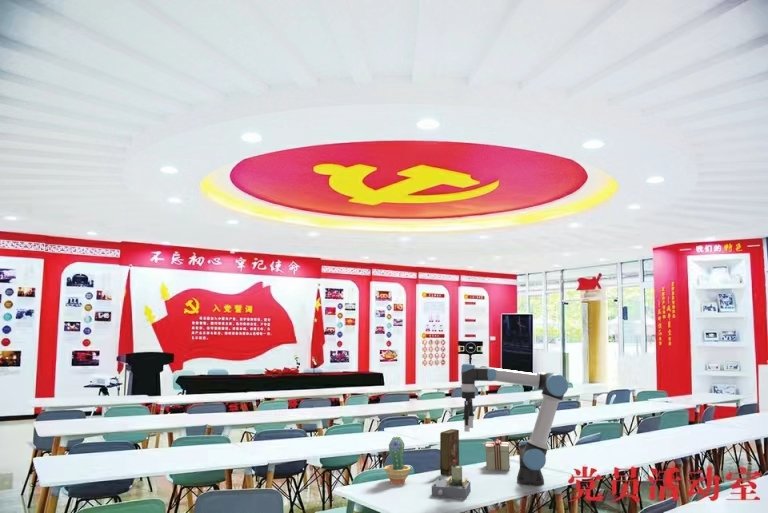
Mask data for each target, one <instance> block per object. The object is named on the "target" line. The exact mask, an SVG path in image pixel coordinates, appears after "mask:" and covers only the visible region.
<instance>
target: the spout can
mask: <svg viewBox="0 0 768 513" xmlns="http://www.w3.org/2000/svg"><path fill="white" fill-rule="evenodd" d="M451 480H452V486H461V487H462V481H463V467H462V466H461V465H459V466H456V460H453V466H452V475H451Z"/></svg>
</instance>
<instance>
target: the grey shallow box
mask: <svg viewBox="0 0 768 513" xmlns="http://www.w3.org/2000/svg"><path fill="white" fill-rule="evenodd" d="M471 488H472V487H471V481H470V480H468V478H467V477H465V478H464V479H462V487H461V486H452V476H448V478H447V479H442V478H437V479H436V480H435V481H434V483H432V485H431V497H439V498H447V497H449V498H450V499H458V498H462V499H461V500H467V498H468V497H469V495H470V493H471V490H472V489H471ZM467 496H468V497H467Z"/></svg>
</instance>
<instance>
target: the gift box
mask: <svg viewBox="0 0 768 513" xmlns="http://www.w3.org/2000/svg"><path fill="white" fill-rule="evenodd" d="M483 445H485V447H484V448H485V449H484V451H485V461H486V462H485V463H486V464H485V465H486V466H485V467H486V468H485V469H486V470H488V471H510V470H511V466H510V442H508V441H502V440H500V439H498V438H496V439H495V441H484V442H483V443H482V444H481V445H480V446H483Z"/></svg>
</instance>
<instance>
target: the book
mask: <svg viewBox="0 0 768 513" xmlns="http://www.w3.org/2000/svg"><path fill="white" fill-rule="evenodd" d="M439 434H440V435H439V441H440V444H439V445H440V446H439V448H440V452H439V455H440V456H439V457H440V460H439V462H440V465H439V466H440V469H439V470H440V475H441V476H447V477H452V466H453V460H456V466H460V437H459V436H460V431H459V429H453V428H451V429H448V430H447V429H446V430H445V431H441V432H440V433H439Z"/></svg>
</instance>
